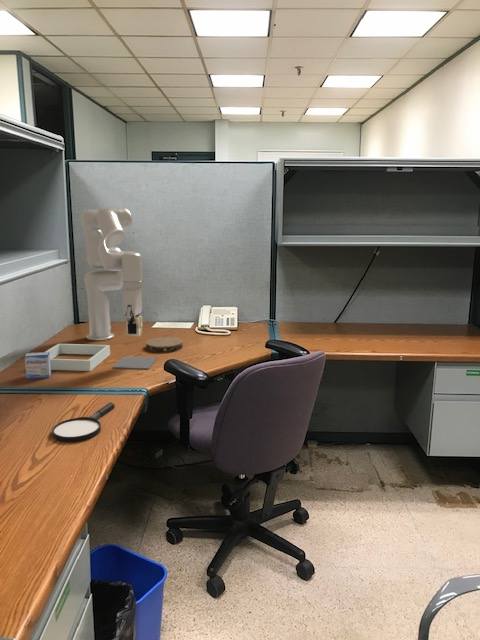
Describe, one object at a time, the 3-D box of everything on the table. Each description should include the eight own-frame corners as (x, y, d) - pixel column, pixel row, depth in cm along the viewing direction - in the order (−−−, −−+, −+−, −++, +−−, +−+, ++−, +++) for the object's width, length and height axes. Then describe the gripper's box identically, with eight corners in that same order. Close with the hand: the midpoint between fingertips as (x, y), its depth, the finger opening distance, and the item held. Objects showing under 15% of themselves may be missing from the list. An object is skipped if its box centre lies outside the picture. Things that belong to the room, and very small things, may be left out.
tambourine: (187, 345, 221) (187, 338, 221) (174, 354, 206) (173, 347, 206) (155, 342, 225) (155, 336, 225) (139, 351, 210) (139, 344, 210)
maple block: (130, 333, 193) (129, 315, 191) (142, 333, 192) (142, 315, 191) (126, 336, 188) (125, 318, 186) (139, 336, 187) (138, 318, 186)
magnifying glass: (130, 411, 148) (130, 404, 147) (83, 446, 125) (83, 439, 125) (94, 406, 151) (93, 399, 151) (42, 440, 129) (41, 432, 128)
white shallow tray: (59, 352, 206) (58, 343, 205) (110, 354, 204) (109, 345, 204) (33, 369, 185) (32, 358, 184) (90, 371, 183) (89, 360, 182)
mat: (123, 357, 200) (123, 356, 200) (157, 358, 199) (157, 357, 199) (112, 368, 186) (112, 367, 186) (148, 369, 185) (148, 368, 185)
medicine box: (26, 379, 173) (24, 356, 171) (28, 375, 178) (26, 352, 176) (50, 377, 175) (48, 354, 174) (51, 373, 180) (49, 351, 178)
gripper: (129, 282, 195) (131, 327, 198) (115, 288, 178) (118, 337, 182) (148, 282, 194) (149, 327, 198) (135, 288, 177) (137, 337, 181)
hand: (134, 331), depth 190 cm, fingers closed on maple block, 5 cm apart
